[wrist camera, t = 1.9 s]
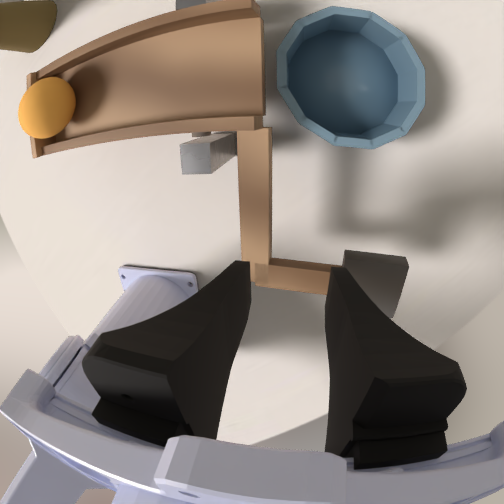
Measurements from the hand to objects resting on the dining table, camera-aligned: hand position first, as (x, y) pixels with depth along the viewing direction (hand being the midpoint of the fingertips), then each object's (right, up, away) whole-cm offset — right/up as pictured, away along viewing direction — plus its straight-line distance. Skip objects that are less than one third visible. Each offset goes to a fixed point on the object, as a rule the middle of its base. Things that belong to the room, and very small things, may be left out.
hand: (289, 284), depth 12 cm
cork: (-22, +24, +2) cm, 33 cm away
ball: (-14, +10, 0) cm, 17 cm away
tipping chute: (-4, +7, +3) cm, 9 cm away
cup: (+4, +12, +3) cm, 13 cm away
